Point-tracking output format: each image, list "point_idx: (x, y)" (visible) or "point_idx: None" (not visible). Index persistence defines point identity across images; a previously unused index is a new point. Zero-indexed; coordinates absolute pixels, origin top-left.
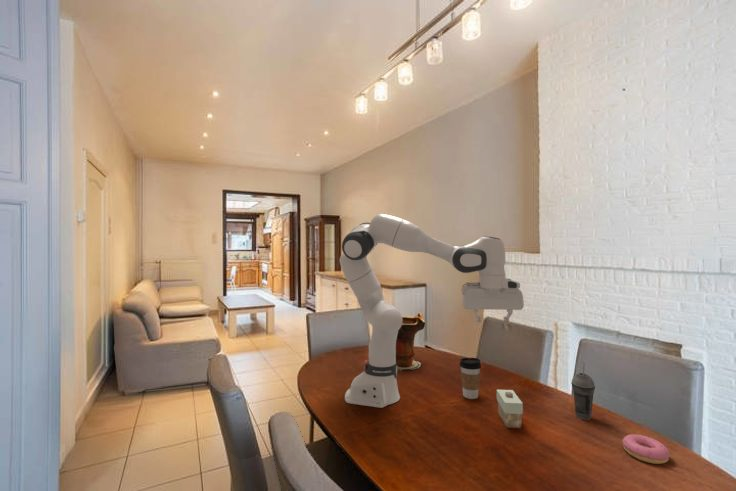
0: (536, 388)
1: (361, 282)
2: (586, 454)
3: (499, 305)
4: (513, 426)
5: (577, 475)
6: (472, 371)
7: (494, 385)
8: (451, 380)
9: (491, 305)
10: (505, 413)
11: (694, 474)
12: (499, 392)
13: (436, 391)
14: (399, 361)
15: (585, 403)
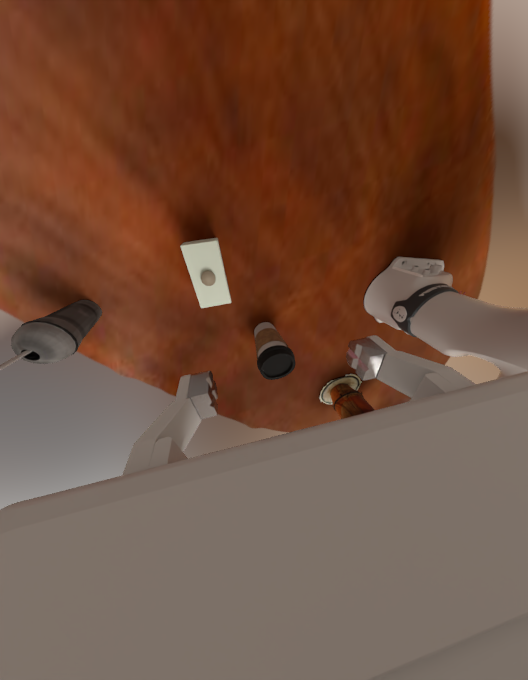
0: (169, 379)
1: None
2: (60, 153)
3: (272, 492)
4: (203, 239)
5: (63, 28)
6: (272, 344)
7: (228, 371)
8: None
9: (371, 462)
10: None
11: None
12: (226, 290)
13: (310, 331)
14: (350, 388)
15: (62, 310)
